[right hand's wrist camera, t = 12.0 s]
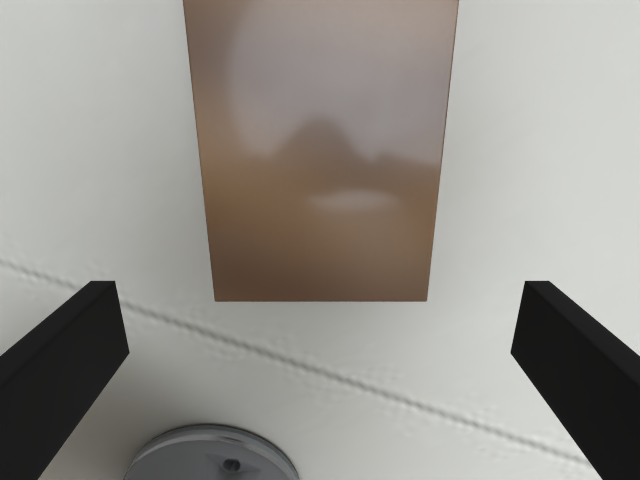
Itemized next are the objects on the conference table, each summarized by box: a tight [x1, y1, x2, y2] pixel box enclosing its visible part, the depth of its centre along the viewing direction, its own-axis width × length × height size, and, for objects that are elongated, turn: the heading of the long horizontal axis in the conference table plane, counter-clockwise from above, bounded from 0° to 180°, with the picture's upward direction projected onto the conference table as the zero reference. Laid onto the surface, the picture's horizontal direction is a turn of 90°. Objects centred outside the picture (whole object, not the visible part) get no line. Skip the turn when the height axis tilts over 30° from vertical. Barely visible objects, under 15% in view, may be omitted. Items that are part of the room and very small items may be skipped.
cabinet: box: [183, 0, 459, 301], centre depth 20 cm, size 21×10×8 cm, turn 0°
